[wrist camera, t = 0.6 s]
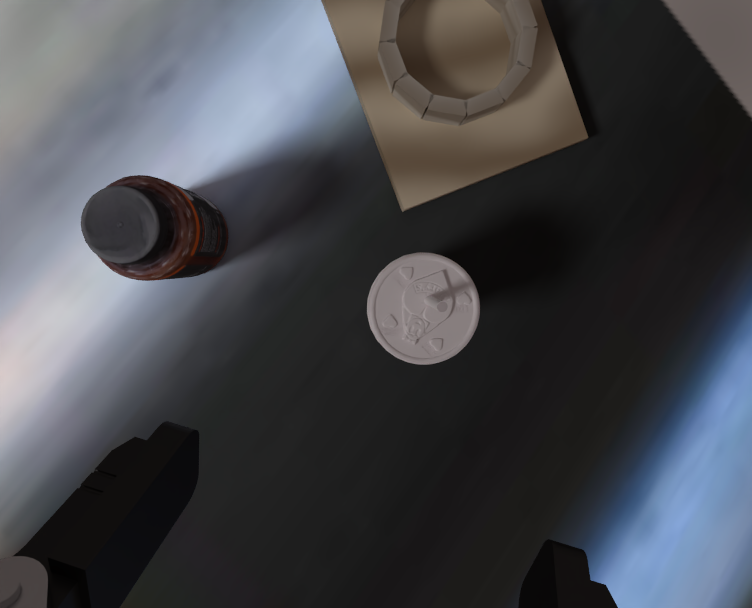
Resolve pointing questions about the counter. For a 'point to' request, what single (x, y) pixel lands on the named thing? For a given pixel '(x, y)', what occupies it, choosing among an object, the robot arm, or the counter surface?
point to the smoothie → (423, 308)
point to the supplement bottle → (154, 229)
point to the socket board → (455, 88)
